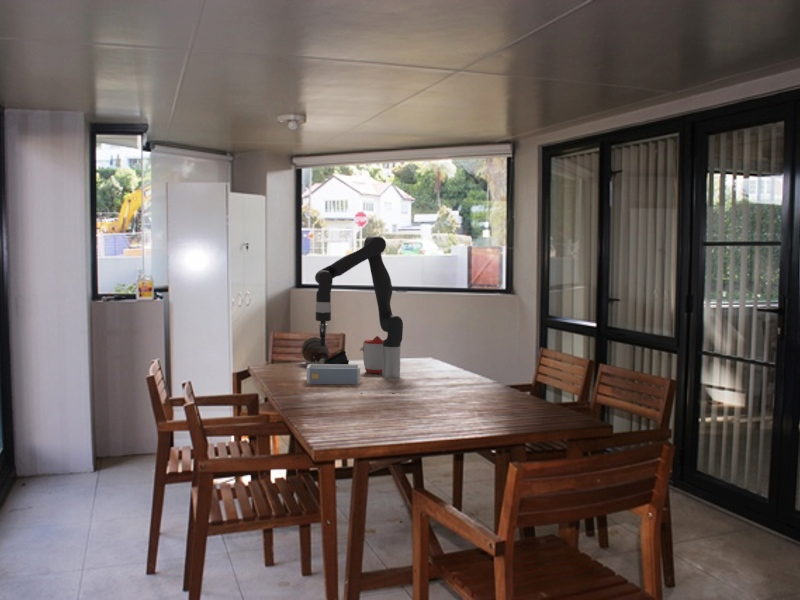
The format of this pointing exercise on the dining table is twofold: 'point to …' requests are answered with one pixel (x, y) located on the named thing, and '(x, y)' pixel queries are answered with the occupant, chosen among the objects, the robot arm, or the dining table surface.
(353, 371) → the door
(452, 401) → the dining table surface
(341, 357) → the black ridged battery pack
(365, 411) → the dining table surface
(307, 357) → the clay pot
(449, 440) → the dining table surface
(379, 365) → the citrus juicer
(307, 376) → the case
